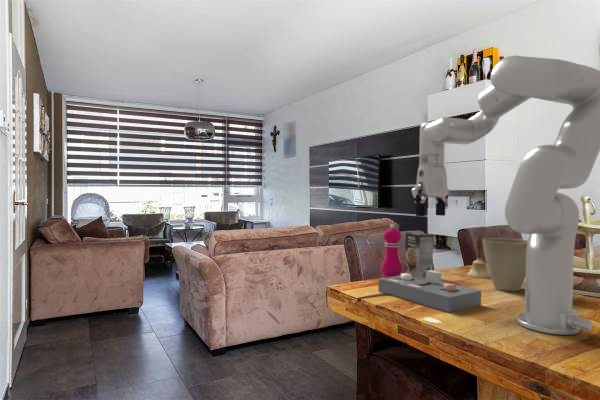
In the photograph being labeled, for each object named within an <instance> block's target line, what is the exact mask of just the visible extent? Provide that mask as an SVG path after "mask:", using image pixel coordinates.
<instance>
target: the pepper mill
mask: <svg viewBox="0 0 600 400" xmlns="http://www.w3.org/2000/svg"><path fill="white" fill-rule="evenodd" d="M401 238H402V234H401V232H400V230H398V229H397V228H396V225H395V224H393V223H392V224H390V225H389V228H388V229H386V230H385V231H384V232H383V239H384V240H385V242H384V247H385V256H384V258H383V261H382V263H381V267H380V268H381V271H382V273H383V274H382V278H386V277H393V276H400V275H401V274H402V272H403V265H402V262H401V260H400V258H399V251H398V249H399V247H400V240H401Z"/></svg>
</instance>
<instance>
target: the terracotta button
mask: <svg viewBox="0 0 600 400" xmlns="http://www.w3.org/2000/svg"><path fill="white" fill-rule="evenodd" d="M456 285H457V284H455V283H449V282H446V283H445V284H444V291H448V292H456Z"/></svg>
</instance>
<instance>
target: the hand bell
mask: <svg viewBox="0 0 600 400" xmlns="http://www.w3.org/2000/svg"><path fill="white" fill-rule="evenodd" d="M483 239H484V237H483V236H482V233H477V237H476V238H475V247H476V252H477V253H476V260H473V261H472V266H471V269H470V270H469V271H468V272H467V274H466V275H467V276H468V277H470V278H471V277H472V278H477V279H491V277H490V274H489V271H488V268H487V263H486V261H484V260H483V256H482V255H483V254H482V252H483V249H484V247H483Z"/></svg>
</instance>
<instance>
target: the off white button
mask: <svg viewBox="0 0 600 400" xmlns="http://www.w3.org/2000/svg"><path fill="white" fill-rule="evenodd" d="M400 275H401V280H404V281H411V280H412V275H411V274H407V273H405V272H403V273H400Z"/></svg>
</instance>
